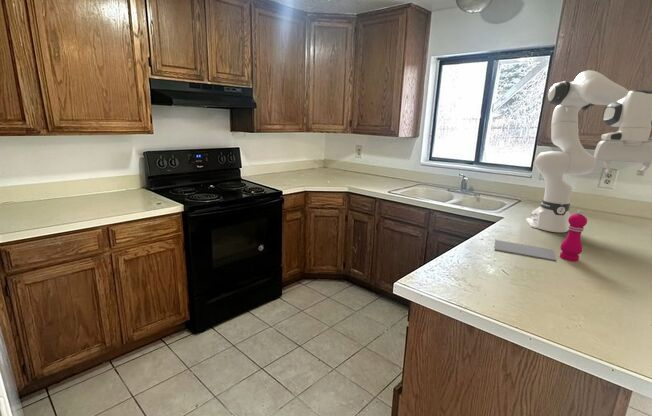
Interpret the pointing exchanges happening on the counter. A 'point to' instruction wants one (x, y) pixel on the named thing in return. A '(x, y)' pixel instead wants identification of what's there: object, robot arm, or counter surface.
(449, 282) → the counter surface
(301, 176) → the counter surface
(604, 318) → the counter surface
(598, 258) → the counter surface
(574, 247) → the pepper mill
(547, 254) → the mat
